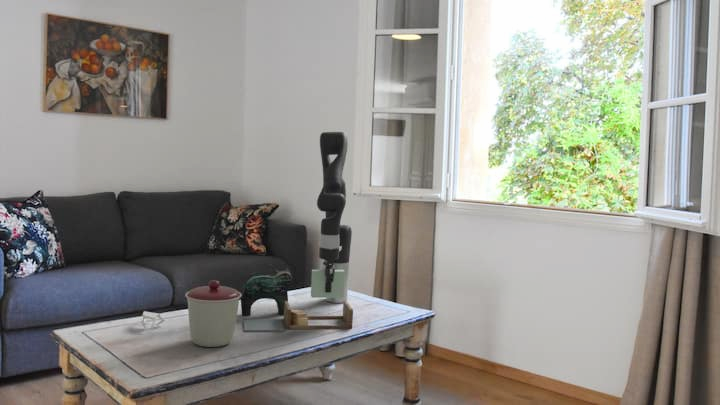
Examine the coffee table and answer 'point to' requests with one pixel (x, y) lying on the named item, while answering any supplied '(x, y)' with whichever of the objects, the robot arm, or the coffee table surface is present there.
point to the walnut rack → (346, 317)
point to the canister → (212, 314)
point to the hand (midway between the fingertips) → (327, 290)
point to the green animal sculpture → (266, 290)
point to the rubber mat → (263, 325)
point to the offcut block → (298, 318)
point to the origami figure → (151, 316)
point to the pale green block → (319, 284)
